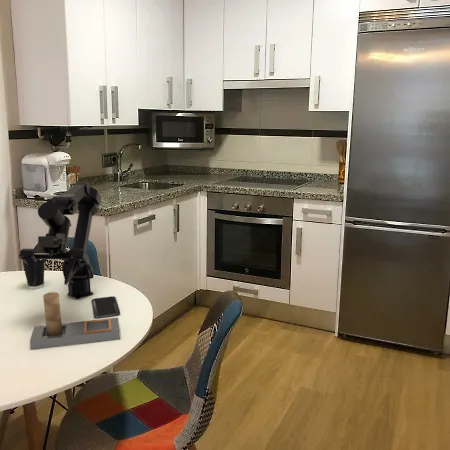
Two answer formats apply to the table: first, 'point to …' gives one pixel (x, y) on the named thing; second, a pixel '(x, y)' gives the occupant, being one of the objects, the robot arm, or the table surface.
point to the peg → (52, 314)
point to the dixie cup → (40, 275)
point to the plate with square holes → (77, 333)
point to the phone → (105, 307)
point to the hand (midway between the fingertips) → (49, 284)
